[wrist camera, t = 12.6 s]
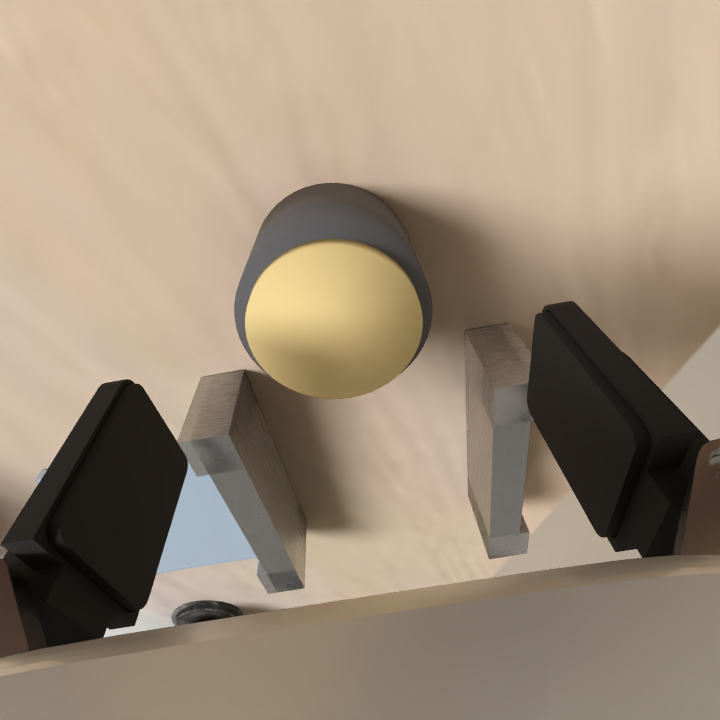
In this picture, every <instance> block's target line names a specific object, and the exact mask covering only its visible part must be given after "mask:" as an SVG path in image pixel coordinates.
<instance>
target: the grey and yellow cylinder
mask: <svg viewBox="0 0 720 720" xmlns="http://www.w3.org/2000/svg"><path fill="white" fill-rule="evenodd" d="M234 307H235V322H236V328H237V331H238V334H239V337H240V340H241V342H242V344H243V346H244V348H245V350H246V351H247V353H248V354H249V356H250V357H251V358H252V360H253V361H254V362H255V363H256V364H257V365H258V366H259V367H260V368H261V369H262V370H263V371H264V372H265V373H266V374H268V375H269V376H271V377H272V378H273V379H275V380H276V381H277V382H279V383H280V384H282V385H284V386H285V387H287V388H289V389H291V390H294V391H296V392H298V393H301V394H305V395H308V396H312V397H317V398H326V399H342V398H351V397H355V396H360V395H363V394H366V393H369V392H372V391H374V390H376V389H378V388H380V387H382V386H384V385H386V384H387V383H389V382H390V381H391V380H393V379H394V378H396V377H397V376H398V375H399V374H400V373H402V372H403V371H404V370H405V369H406V368H407V367H408V366H409V365H410V364H411V363H412V362H413V360H414V359H415V358H416V357H417V355H418V354H419V352H420V351H421V349H422V348H423V346H424V343H425V341H426V339H427V337H428V333H429V330H430V327H431V320H432V300H431V293H430V290H429V287H428V284H427V281H426V278H425V276H424V274H423V271H422V269H421V267H420V264H419V262H418V260H417V257H416V255H415V253H414V251H413V248H412V246H411V244H410V241H409V239H408V237H407V234H406V232H405V230H404V228H403V226H402V224H401V222H400V220H399V219H398V217H397V216H396V214H395V213H394V212H393V211H392V209H391V208H390V207H389V206H388V205H387V204H386V203H384V202H383V201H382V200H381V199H380V198H378V197H377V196H375V195H373V194H372V193H370V192H368V191H366V190H364V189H361V188H358V187H355V186H352V185H347V184H341V183H324V184H316V185H312V186H309V187H305V188H303V189H300V190H298V191H296V192H294V193H292V194H291V195H289V196H287V197H286V198H284V199H283V200H282V201H281V202H279V203H278V204H277V205H276V206H275V207H274V208H273V210H272V211H271V212H270V213H269V215H268V216H267V217H266V219H265V220H264V222H263V224H262V226H261V228H260V231H259V233H258V236H257V238H256V241H255V244H254V246H253V249H252V251H251V254H250V256H249V259H248V262H247V264H246V267H245V269H244V272H243V274H242V277H241V280H240V282H239V286H238V289H237V292H236V298H235V304H234Z"/></svg>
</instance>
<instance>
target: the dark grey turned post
mask: <svg viewBox="0 0 720 720" xmlns="http://www.w3.org/2000/svg"><path fill="white" fill-rule="evenodd" d="M236 616H243V613H242V611H241V610H239V609H238V608H237V607H235V606H233V605H230V604H227V603H223V602H217V601H196V602H191V603H187V604H184V605H182V606H180V607H178V608H177V609H176V610H175V611H174V612H173V614H172V617H171V618H172V622H173V623H174V624H175V626H179V625H186V624H192V623H198V622H205V621H211V620H217V619H224V618H230V617H236Z"/></svg>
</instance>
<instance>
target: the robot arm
mask: <svg viewBox="0 0 720 720" xmlns="http://www.w3.org/2000/svg"><path fill="white" fill-rule="evenodd" d="M527 406H528V409H529V412H530V414H531V416H532V418H533V420H534V422H535V423H536V425H537V427H538V429H539V431H540V432H541V434H542V436H543V438H544V440H545V441H546V443H547V445H548V447H549V449H550V450H551V452H552V454H553V456H554V458H555V459H556V461H557V463H558V465H559V467H560V468H561V470H562V472H563V474H564V476H565V477H566V479H567V481H568V483H569V485H570V486H571V488H572V490H573V492H574V494H575V495H576V497H577V499H578V501H579V502H580V504H581V506H582V508H583V510H584V511H585V513H586V515H587V517H588V519H589V521H590V522H591V524H592V526H593V528H594V529H595V531H596V533H597V534H598V535H599V536H600V537H607V538H608V540H609V542H610V543H611V545H612V547H613V549H614V550H615V552H619V551H625V550H632V549H638V551H639V553H640V554H641V556H642V558H637V559H626V560H619V561H611V562H604V563H596V564H588V565H581V566H573V567H565V568H557V569H550V570H542V571H535V572H529V573H521V574H515V575H508V576H501V577H494V578H488V579H481V580H474V581H467V582H460V583H454V584H447V585H440V586H433V587H427V588H420V589H413V590H406V591H400V592H393V593H387V594H380V595H373V596H367V597H360V598H354V599H347V600H340V601H334V602H327V603H321V604H314V605H308V606H301V607H295V608H288V609H282V610H275V611H269V612H262V613H256V614H249V615H243V616H236V617H230V618H224V619H217V620H211V621H205V622H198V623H192V624H186V625H179V626H173V627H167V628H160V629H154V630H148V631H141V632H135V633H129V634H122V635H117V636H111V637H105V638H103V637H104V634H105V631H106V628H109V629H117V628H123V627H130V626H135V623H136V620H137V617H138V613H139V610H140V609H142V608H143V607H144V606H145V605H146V603H147V601H148V599H149V595H150V592H151V589H152V586H153V582H154V579H155V576H156V572H157V569H158V566H159V563H160V559H161V556H162V553H163V549H164V546H165V543H166V540H167V536H168V533H169V530H170V526H171V523H172V520H173V517H174V513H175V510H176V507H177V503H178V500H179V497H180V494H181V490H182V487H183V484H184V480H185V477H186V474H187V470H188V461H187V457H186V455H185V454H184V452H183V450H182V449H181V447H180V446H179V444H178V442H177V441H176V439H175V438H174V436H173V434H172V433H171V431H170V430H169V428H168V427H167V425H166V423H165V422H164V420H163V419H162V417H161V415H160V414H159V412H158V411H157V409H156V407H155V406H154V404H153V403H152V401H151V400H150V398H149V396H148V395H147V393H146V392H145V390H144V388H143V387H142V386H141V385H140V384H135V383H134V382H133V381H131V380H128V379H126V380H120V381H114V382H109V383H104V384H102V385H101V386H100V387H99V388H98V390H97V391H96V393H95V395H94V396H93V398H92V399H91V401H90V403H89V404H88V406H87V407H86V409H85V411H84V412H83V414H82V415H81V417H80V418H79V420H78V422H77V423H76V425H75V426H74V428H73V430H72V431H71V433H70V434H69V436H68V438H67V439H66V441H65V442H64V444H63V446H62V447H61V449H60V450H59V452H58V454H57V455H56V457H55V458H54V460H53V462H52V463H51V465H50V466H49V468H48V469H47V471H46V473H45V474H44V476H43V477H42V479H41V481H40V482H39V484H38V485H37V487H36V489H35V490H34V492H33V493H32V495H31V497H30V498H29V500H28V501H27V503H26V505H25V506H24V508H23V509H22V511H21V513H20V514H19V516H18V517H17V519H16V521H15V522H14V524H13V525H12V527H11V528H10V530H9V532H8V533H7V535H6V536H5V538H4V540H3V541H2V543H1V545H2V546H3V547H5V548H6V549H7V550H8V552H7V553H6V555H5V557H4V558H3V559H0V720H720V439H716V440H712V441H709V440H708V439H707V438H706V437H705V436H704V435H703V433H701V431H700V430H699V429H698V428H697V427H696V426H695V425H694V424H693V423H692V422H691V421H690V420H689V419H688V418H687V417H686V416H685V415H684V414H683V413H682V412H681V411H680V410H679V408H678V407H677V406H676V405H675V404H674V403H673V402H672V401H671V400H670V399H669V398H668V397H667V396H666V395H665V394H664V393H663V392H662V391H661V390H660V389H659V388H658V387H657V386H656V384H655V383H654V382H653V381H652V380H651V379H650V378H649V377H648V376H647V375H646V374H645V373H644V372H643V371H642V370H641V369H640V368H639V367H638V366H637V365H636V364H635V363H634V362H633V361H632V359H631V358H630V357H629V356H627V355H626V354H625V353H623V352H621V351H620V350H619V348H618V347H617V346H616V345H615V344H614V343H613V342H612V341H611V340H610V339H609V338H608V337H607V336H606V335H605V334H604V333H603V332H602V331H601V330H600V328H599V327H598V326H597V325H596V324H595V323H594V322H593V321H592V320H591V319H590V318H589V317H588V316H587V315H586V314H585V313H584V312H583V311H582V310H581V309H580V307H579V306H578V305H577V304H576V303H574V302H573V301H568V302H563V303H557V304H551V305H546V306H545V307H544V308H543V311H542V313H538V314H537V315H536V317H535V324H534V334H533V343H532V353H531V362H530V372H529V381H528V391H527Z"/></svg>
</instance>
